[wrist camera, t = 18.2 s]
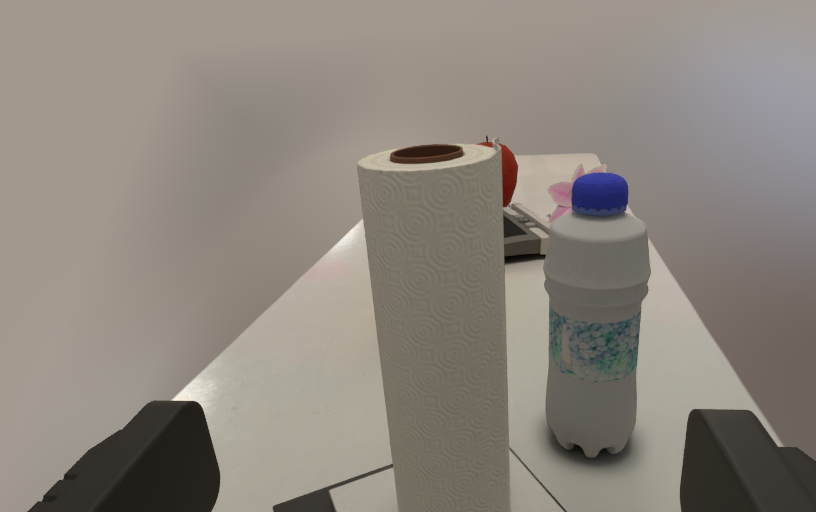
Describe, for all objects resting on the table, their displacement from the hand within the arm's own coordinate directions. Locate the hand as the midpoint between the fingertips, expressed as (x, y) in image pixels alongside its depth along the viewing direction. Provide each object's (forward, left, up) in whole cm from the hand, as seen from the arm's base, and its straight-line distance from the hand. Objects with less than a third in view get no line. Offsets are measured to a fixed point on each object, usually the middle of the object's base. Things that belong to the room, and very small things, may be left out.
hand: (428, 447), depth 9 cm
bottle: (-20, -20, -22) cm, 36 cm away
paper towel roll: (-7, -14, -19) cm, 25 cm away
